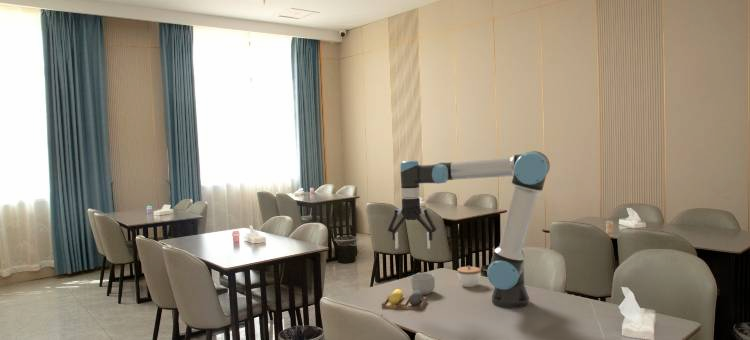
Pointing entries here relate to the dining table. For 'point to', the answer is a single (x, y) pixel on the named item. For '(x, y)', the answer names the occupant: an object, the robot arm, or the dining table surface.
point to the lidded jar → (469, 276)
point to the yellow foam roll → (395, 296)
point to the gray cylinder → (415, 297)
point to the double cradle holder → (404, 304)
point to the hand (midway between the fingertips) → (412, 248)
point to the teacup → (423, 282)
